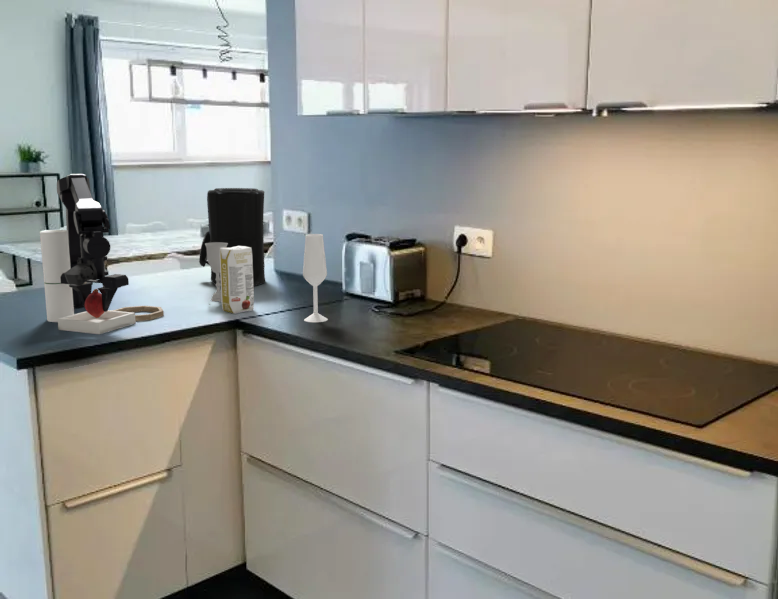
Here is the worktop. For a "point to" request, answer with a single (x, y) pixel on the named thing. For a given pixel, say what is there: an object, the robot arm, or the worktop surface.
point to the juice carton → (236, 279)
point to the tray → (96, 322)
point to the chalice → (215, 264)
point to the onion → (94, 304)
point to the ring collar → (157, 310)
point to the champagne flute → (314, 269)
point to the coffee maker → (236, 225)
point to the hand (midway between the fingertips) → (96, 310)
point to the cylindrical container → (56, 274)
